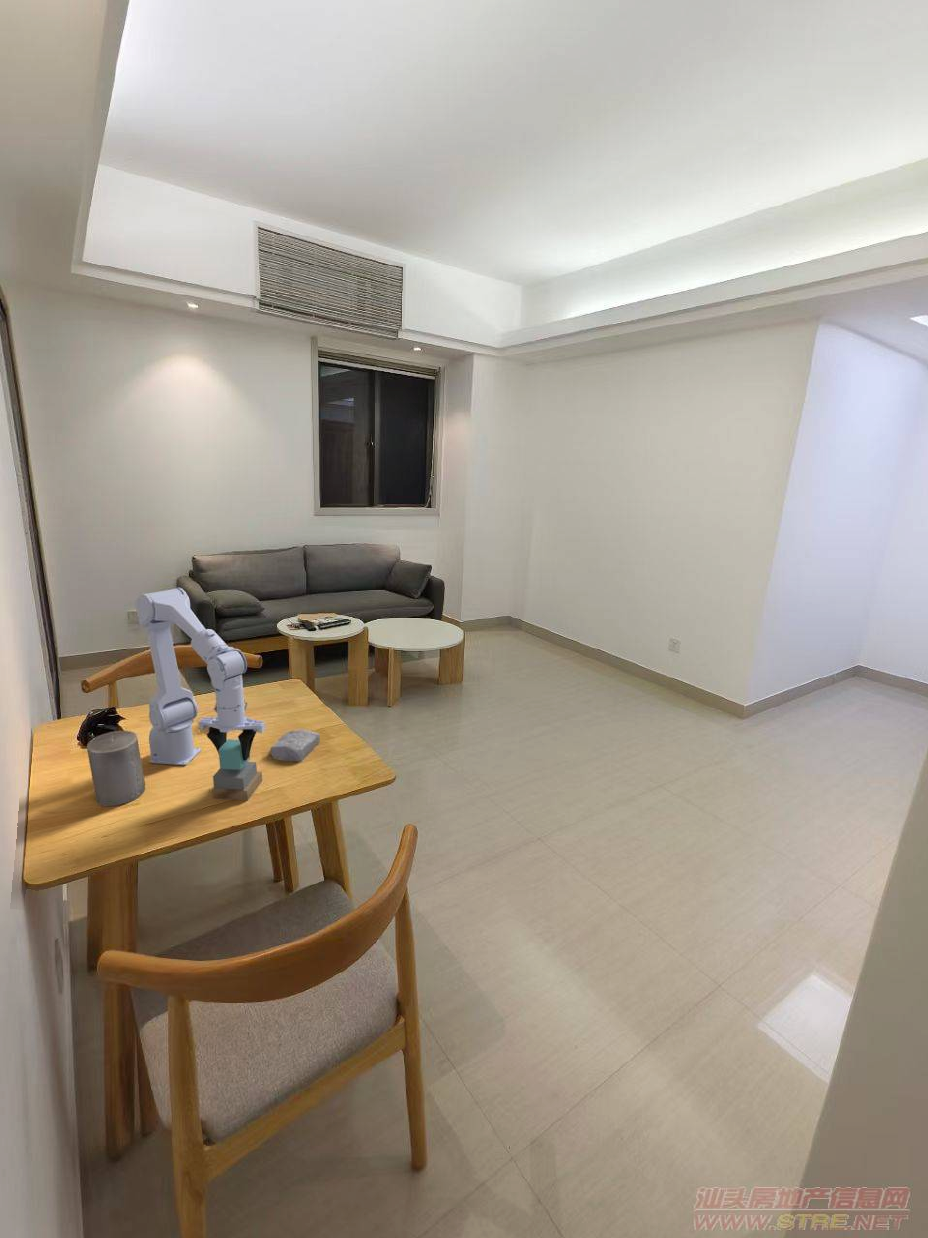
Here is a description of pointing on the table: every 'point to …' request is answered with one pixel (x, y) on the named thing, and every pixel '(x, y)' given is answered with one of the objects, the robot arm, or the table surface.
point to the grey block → (235, 777)
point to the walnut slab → (239, 794)
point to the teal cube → (231, 755)
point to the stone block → (295, 745)
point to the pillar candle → (116, 768)
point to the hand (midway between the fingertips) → (234, 757)
